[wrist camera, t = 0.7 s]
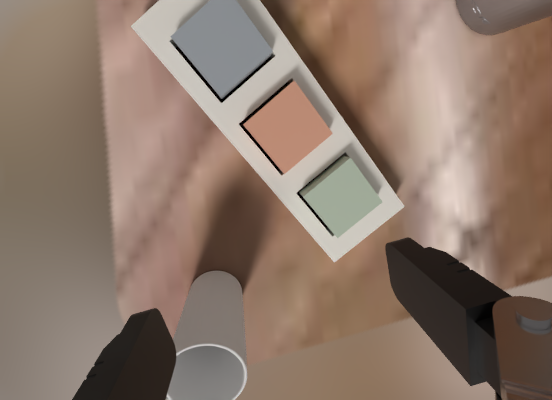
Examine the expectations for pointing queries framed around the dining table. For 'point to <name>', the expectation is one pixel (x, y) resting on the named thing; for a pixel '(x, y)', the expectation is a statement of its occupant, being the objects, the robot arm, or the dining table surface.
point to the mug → (210, 341)
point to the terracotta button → (288, 127)
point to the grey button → (222, 44)
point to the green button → (341, 196)
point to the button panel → (227, 115)
